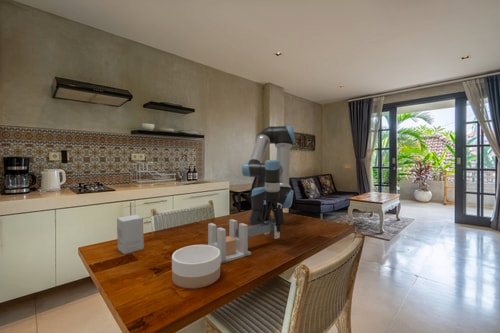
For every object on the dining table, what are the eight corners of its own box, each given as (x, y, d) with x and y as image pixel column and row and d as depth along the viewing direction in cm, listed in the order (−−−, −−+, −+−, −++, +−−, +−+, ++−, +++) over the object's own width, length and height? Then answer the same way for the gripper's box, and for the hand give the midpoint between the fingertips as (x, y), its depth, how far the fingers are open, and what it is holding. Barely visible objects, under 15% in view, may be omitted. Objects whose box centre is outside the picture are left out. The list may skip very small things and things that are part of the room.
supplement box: (137, 244, 117) (136, 214, 116) (144, 249, 110) (143, 217, 110) (117, 249, 110) (116, 217, 110) (123, 254, 104) (122, 221, 103)
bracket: (236, 246, 114) (236, 218, 114) (251, 254, 105) (251, 224, 104) (204, 254, 104) (203, 224, 104) (217, 264, 95) (217, 231, 94)
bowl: (174, 293, 75) (174, 267, 75) (169, 269, 91) (169, 248, 90) (226, 282, 82) (226, 258, 81) (213, 261, 98) (213, 241, 97)
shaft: (274, 228, 124) (274, 219, 123) (280, 230, 120) (280, 221, 120) (235, 237, 109) (235, 227, 109) (241, 240, 106) (241, 230, 106)
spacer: (228, 235, 108) (219, 238, 105) (236, 239, 103) (226, 242, 100) (228, 248, 108) (219, 251, 105) (236, 253, 104) (226, 255, 101)
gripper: (254, 189, 125) (254, 232, 125) (280, 194, 108) (280, 243, 109) (265, 188, 129) (265, 229, 130) (292, 192, 113) (291, 239, 114)
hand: (271, 235), depth 120 cm, fingers open, 7 cm apart
